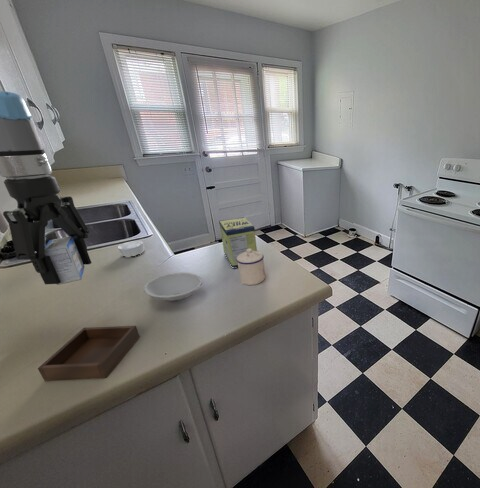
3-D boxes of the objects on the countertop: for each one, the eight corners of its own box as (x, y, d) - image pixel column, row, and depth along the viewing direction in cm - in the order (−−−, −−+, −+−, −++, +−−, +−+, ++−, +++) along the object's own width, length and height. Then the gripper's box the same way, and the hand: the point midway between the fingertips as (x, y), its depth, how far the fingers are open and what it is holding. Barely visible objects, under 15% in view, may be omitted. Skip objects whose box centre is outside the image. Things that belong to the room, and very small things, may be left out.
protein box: (248, 249, 120) (244, 216, 114) (259, 263, 108) (255, 226, 102) (223, 254, 115) (218, 220, 109) (232, 269, 103) (226, 231, 97)
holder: (44, 381, 57) (37, 368, 56) (88, 338, 69) (83, 327, 67) (106, 377, 58) (100, 365, 56) (139, 336, 69) (136, 325, 68)
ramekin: (126, 260, 110) (123, 250, 109) (116, 255, 115) (113, 245, 113) (149, 252, 117) (146, 243, 115) (139, 248, 122) (136, 239, 120)
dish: (135, 306, 81) (130, 292, 79) (171, 282, 94) (167, 269, 92) (184, 315, 77) (180, 300, 75) (215, 289, 90) (212, 276, 88)
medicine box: (81, 280, 63) (67, 246, 59) (56, 286, 60) (40, 250, 57) (85, 267, 69) (72, 235, 65) (61, 272, 66) (47, 239, 63)
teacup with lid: (270, 279, 96) (268, 249, 92) (248, 288, 90) (244, 257, 86) (252, 268, 104) (249, 240, 99) (230, 276, 98) (226, 247, 93)
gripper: (-7, 185, 46) (47, 297, 55) (87, 169, 66) (115, 253, 74) (-55, 186, 45) (7, 299, 54) (54, 170, 65) (86, 254, 74)
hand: (70, 272), depth 64 cm, fingers closed on medicine box, 9 cm apart
